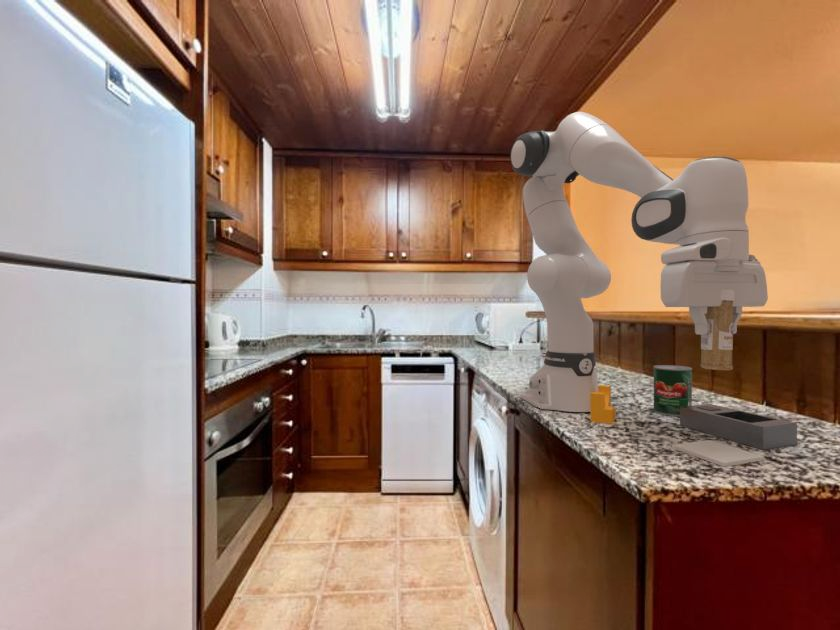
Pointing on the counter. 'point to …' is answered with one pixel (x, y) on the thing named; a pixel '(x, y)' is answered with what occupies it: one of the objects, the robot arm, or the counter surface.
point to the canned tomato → (672, 389)
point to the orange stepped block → (602, 405)
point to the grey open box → (739, 426)
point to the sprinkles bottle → (719, 335)
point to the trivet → (718, 453)
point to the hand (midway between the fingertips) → (715, 334)
